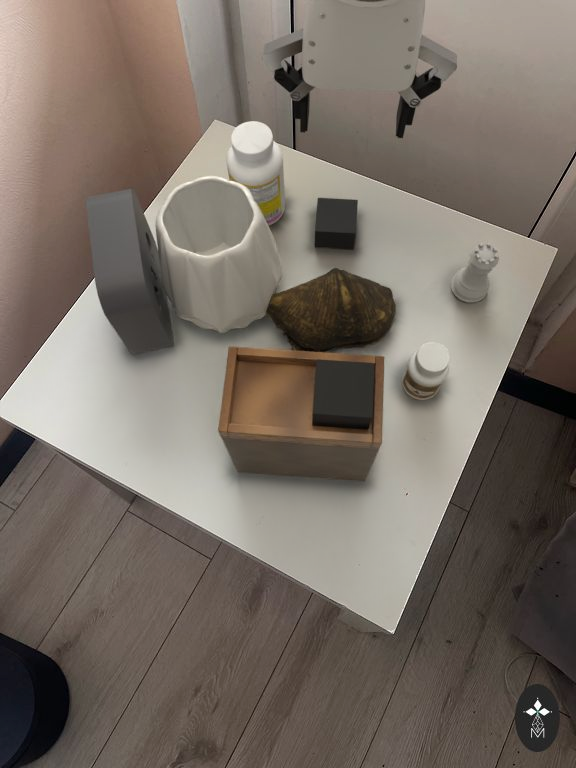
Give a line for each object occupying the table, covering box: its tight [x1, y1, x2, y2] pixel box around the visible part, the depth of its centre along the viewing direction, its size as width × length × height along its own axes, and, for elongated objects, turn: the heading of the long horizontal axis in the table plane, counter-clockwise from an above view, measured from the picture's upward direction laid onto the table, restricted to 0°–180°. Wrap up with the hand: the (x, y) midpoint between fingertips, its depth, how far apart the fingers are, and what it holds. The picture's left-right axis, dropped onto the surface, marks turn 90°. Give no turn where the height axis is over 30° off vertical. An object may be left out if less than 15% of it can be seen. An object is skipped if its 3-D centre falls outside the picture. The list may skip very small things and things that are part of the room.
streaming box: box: [85, 188, 175, 355], centre depth 69 cm, size 14×14×5 cm
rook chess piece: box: [450, 242, 500, 303], centre depth 71 cm, size 4×4×8 cm
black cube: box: [314, 197, 359, 250], centre depth 77 cm, size 5×5×4 cm
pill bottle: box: [401, 341, 451, 401], centre depth 67 cm, size 4×4×8 cm
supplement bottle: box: [225, 120, 286, 227], centre depth 74 cm, size 7×7×13 cm
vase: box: [154, 175, 283, 334], centre depth 68 cm, size 14×14×15 cm
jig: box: [217, 345, 385, 482], centre depth 61 cm, size 14×8×16 cm, turn 85°
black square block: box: [312, 359, 375, 430], centre depth 53 cm, size 5×5×4 cm
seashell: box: [266, 267, 397, 353], centre depth 71 cm, size 16×9×7 cm, turn 98°
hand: (351, 124), depth 62 cm, fingers open, 9 cm apart
